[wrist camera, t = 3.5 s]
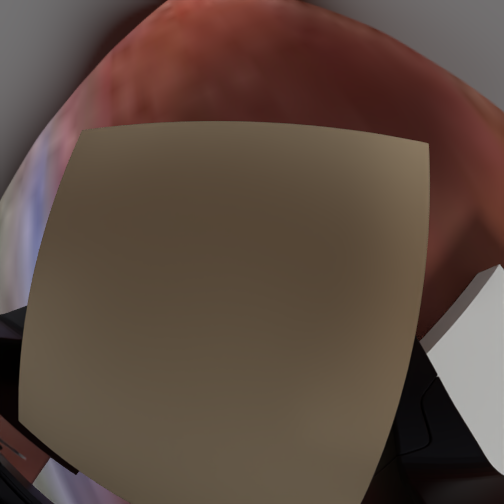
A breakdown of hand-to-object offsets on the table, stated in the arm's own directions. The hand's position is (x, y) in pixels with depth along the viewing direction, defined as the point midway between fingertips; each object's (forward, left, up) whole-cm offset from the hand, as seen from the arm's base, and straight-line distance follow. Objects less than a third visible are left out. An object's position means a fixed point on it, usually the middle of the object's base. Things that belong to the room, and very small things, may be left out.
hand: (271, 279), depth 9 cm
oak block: (-1, +1, -7) cm, 7 cm away
